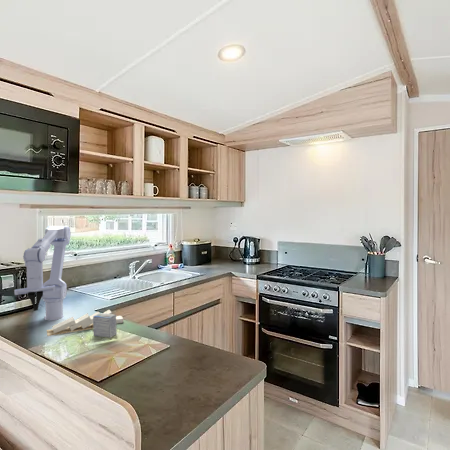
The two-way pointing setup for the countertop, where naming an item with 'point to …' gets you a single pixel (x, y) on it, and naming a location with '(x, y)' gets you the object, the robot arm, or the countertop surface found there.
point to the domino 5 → (119, 319)
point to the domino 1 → (63, 325)
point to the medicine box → (104, 325)
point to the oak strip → (68, 330)
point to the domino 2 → (80, 321)
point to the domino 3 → (89, 321)
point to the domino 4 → (107, 312)
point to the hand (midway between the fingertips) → (35, 310)
